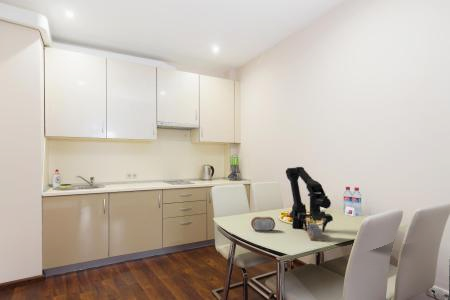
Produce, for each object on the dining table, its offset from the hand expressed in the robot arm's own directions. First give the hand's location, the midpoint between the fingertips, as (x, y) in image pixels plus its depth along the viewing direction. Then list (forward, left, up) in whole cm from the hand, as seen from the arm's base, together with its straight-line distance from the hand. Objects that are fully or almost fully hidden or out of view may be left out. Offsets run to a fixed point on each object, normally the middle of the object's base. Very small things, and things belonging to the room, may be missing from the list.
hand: (314, 231), depth 149 cm
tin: (-30, +6, -3) cm, 31 cm away
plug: (0, 0, -2) cm, 2 cm away
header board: (0, +2, -3) cm, 4 cm away
